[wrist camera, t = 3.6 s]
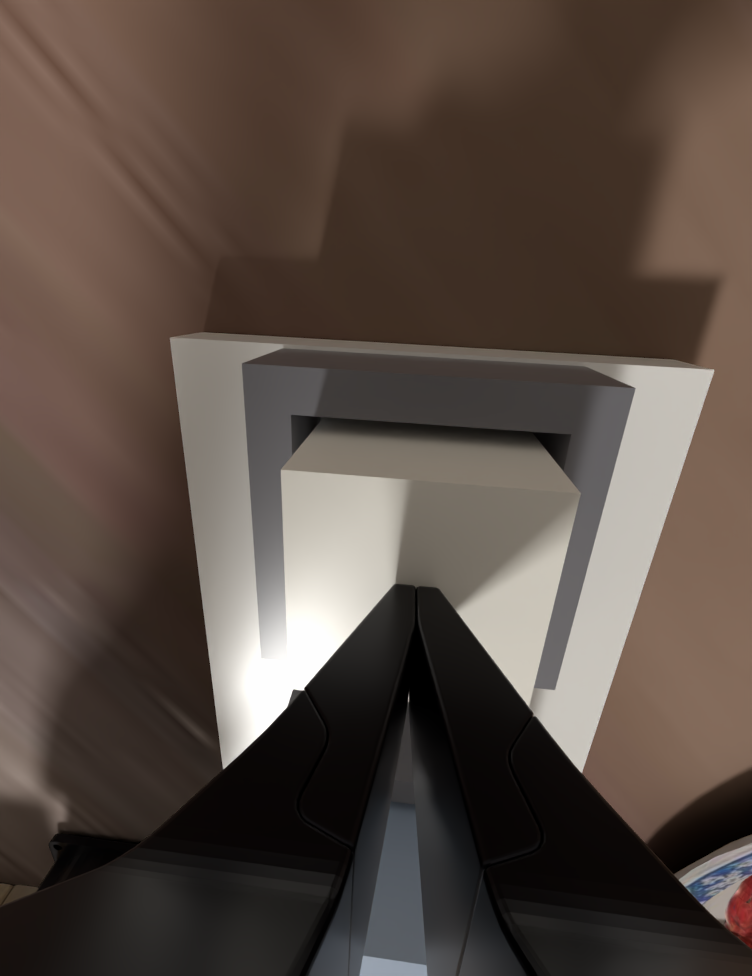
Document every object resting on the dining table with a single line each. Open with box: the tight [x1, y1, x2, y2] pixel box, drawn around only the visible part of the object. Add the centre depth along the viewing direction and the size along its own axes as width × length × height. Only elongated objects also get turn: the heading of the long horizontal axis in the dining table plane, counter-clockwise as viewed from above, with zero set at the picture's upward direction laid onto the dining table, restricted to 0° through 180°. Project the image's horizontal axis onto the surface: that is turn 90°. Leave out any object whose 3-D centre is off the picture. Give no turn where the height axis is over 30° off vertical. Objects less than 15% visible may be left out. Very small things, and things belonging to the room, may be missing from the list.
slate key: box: [359, 802, 427, 976], centre depth 14 cm, size 5×5×4 cm
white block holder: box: [170, 332, 714, 804], centre depth 15 cm, size 14×20×5 cm
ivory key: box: [281, 417, 581, 706], centre depth 10 cm, size 5×5×4 cm
